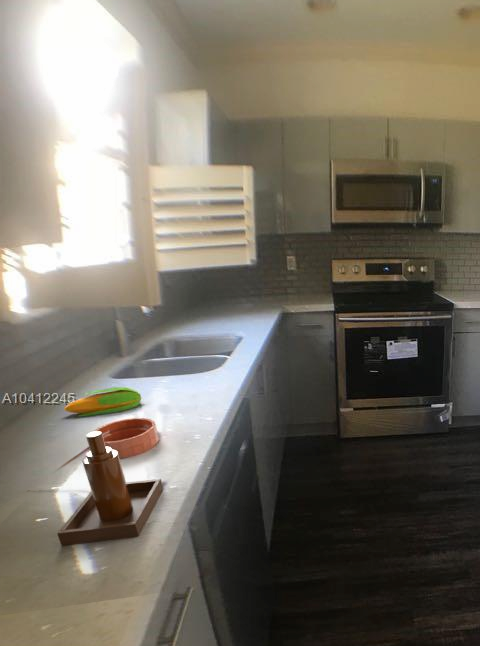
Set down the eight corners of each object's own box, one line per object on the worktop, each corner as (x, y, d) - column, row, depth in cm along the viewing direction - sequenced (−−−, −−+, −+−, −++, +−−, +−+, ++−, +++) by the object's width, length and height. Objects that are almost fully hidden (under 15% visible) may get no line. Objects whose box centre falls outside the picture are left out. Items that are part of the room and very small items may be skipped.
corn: (137, 387, 134) (56, 399, 127) (142, 411, 136) (64, 424, 129) (138, 381, 141) (62, 392, 133) (144, 405, 143) (69, 417, 136)
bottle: (93, 521, 84) (67, 441, 78) (111, 504, 90) (89, 427, 84) (122, 521, 84) (98, 441, 78) (139, 504, 89) (118, 427, 83)
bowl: (80, 461, 108) (74, 442, 106) (117, 435, 121) (112, 418, 120) (139, 461, 107) (134, 442, 105) (169, 435, 120) (165, 417, 119)
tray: (98, 496, 93) (95, 485, 92) (163, 489, 95) (160, 478, 94) (61, 546, 79) (57, 533, 78) (138, 536, 81) (135, 524, 80)
